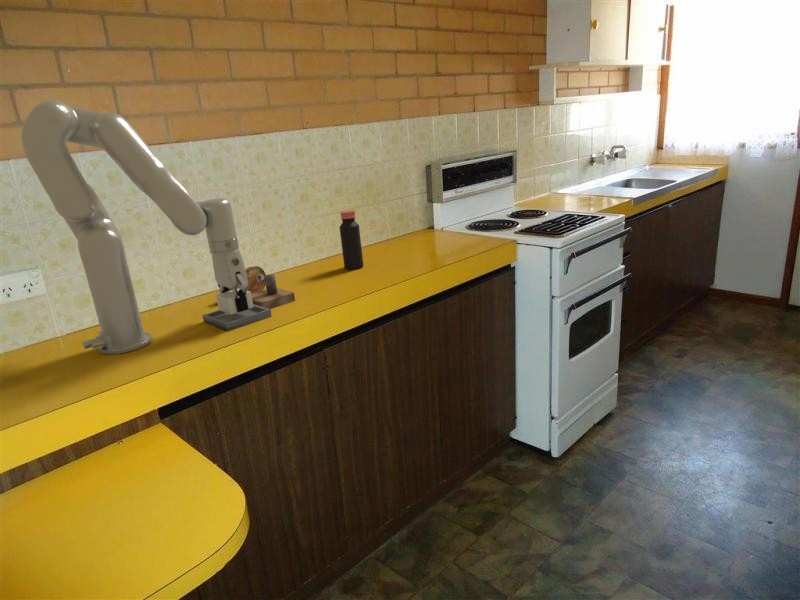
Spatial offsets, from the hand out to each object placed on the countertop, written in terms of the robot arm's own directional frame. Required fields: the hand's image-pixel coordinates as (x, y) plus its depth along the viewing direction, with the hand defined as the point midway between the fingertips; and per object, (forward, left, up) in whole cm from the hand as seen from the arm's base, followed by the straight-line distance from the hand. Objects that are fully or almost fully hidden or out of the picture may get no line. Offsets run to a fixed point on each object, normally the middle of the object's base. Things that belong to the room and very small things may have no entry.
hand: (235, 307), depth 159 cm
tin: (+14, +19, -4) cm, 24 cm away
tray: (0, 0, -3) cm, 3 cm away
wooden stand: (+13, +5, -3) cm, 15 cm away
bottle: (+53, +13, -4) cm, 55 cm away
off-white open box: (0, 0, 0) cm, 0 cm away
